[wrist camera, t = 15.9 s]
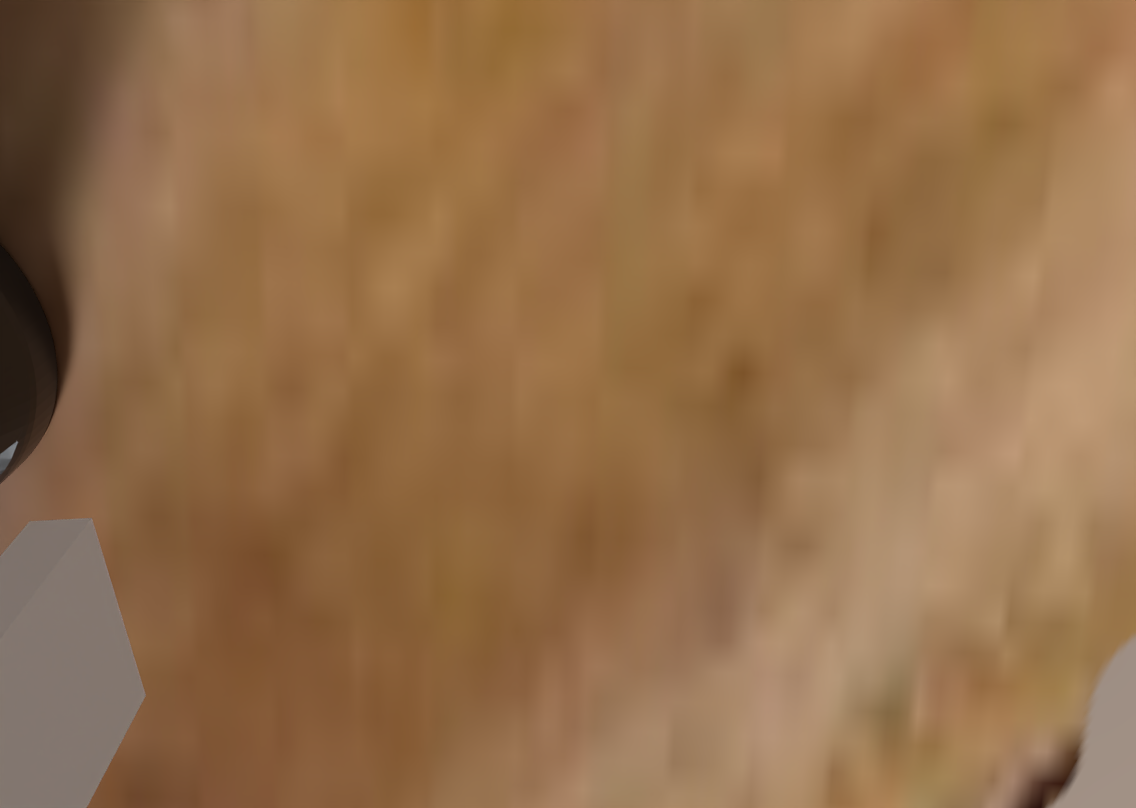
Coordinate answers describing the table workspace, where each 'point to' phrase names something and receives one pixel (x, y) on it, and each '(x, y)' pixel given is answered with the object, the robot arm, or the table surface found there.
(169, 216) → the table surface
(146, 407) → the table surface
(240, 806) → the table surface
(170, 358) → the table surface
